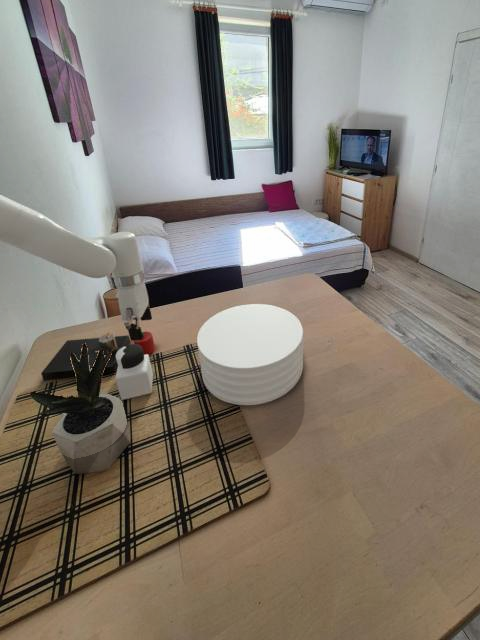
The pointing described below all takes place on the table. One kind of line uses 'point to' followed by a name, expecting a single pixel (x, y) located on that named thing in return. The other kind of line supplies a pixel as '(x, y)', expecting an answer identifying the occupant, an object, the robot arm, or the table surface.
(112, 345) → the hob knob
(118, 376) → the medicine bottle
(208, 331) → the plate stack
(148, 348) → the pepper
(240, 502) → the table surface
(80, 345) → the hob
